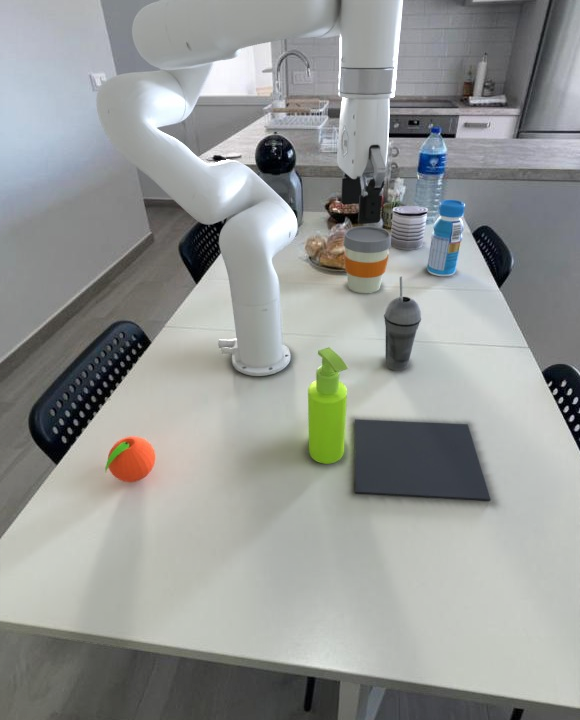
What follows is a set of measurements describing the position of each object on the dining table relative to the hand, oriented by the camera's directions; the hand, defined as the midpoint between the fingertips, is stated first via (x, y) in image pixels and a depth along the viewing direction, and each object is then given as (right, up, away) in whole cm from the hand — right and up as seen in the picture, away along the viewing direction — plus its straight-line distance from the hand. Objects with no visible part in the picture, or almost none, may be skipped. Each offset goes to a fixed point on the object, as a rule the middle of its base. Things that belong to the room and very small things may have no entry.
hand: (359, 212), depth 70 cm
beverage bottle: (+31, +3, +63) cm, 71 cm away
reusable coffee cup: (+8, -2, +56) cm, 56 cm away
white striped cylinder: (+25, +16, +81) cm, 87 cm away
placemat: (+10, -39, +4) cm, 40 cm away
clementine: (-36, -42, +2) cm, 55 cm away
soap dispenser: (-5, -39, +5) cm, 39 cm away
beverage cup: (+11, -24, +25) cm, 36 cm away
